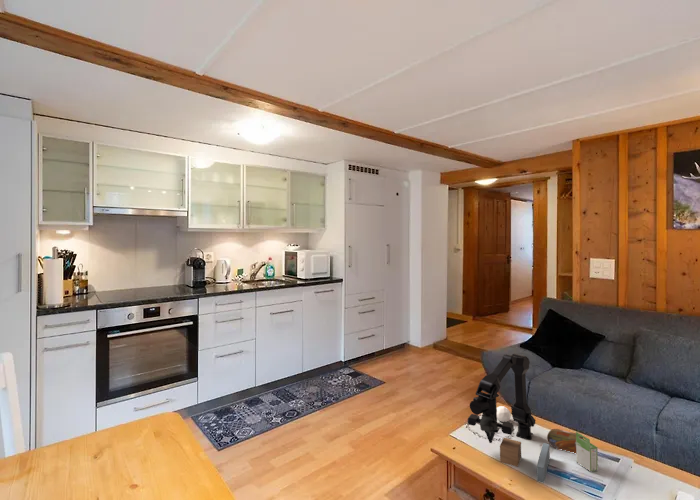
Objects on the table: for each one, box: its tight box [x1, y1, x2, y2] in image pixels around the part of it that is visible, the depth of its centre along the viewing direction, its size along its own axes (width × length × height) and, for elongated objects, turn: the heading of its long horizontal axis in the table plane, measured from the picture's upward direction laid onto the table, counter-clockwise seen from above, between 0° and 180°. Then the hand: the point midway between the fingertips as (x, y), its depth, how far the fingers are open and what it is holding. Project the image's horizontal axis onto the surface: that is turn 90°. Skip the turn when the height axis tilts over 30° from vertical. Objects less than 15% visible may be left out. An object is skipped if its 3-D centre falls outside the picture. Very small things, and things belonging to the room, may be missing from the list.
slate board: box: [536, 442, 551, 484], centre depth 150 cm, size 20×2×6 cm, turn 145°
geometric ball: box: [496, 405, 512, 423], centre depth 192 cm, size 8×8×8 cm
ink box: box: [575, 431, 599, 472], centre depth 151 cm, size 7×4×13 cm, turn 12°
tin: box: [546, 428, 584, 454], centre depth 163 cm, size 15×3×8 cm, turn 53°
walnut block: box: [499, 437, 522, 468], centre depth 157 cm, size 8×7×7 cm
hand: (490, 442), depth 162 cm, fingers closed
